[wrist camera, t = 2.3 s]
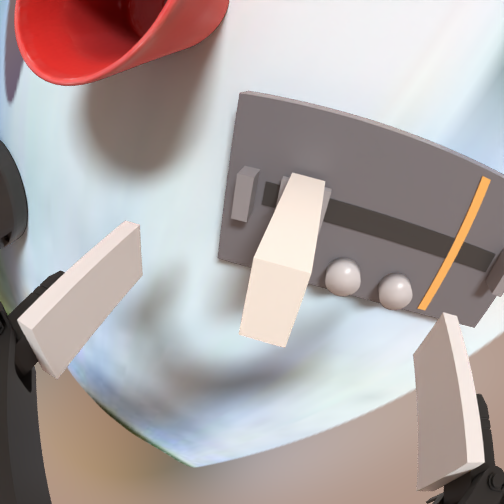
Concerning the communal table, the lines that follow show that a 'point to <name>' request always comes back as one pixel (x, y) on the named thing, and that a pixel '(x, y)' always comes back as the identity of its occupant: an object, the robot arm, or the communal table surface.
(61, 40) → the flower pot
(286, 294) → the fader tab
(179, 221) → the communal table surface
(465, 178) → the console
